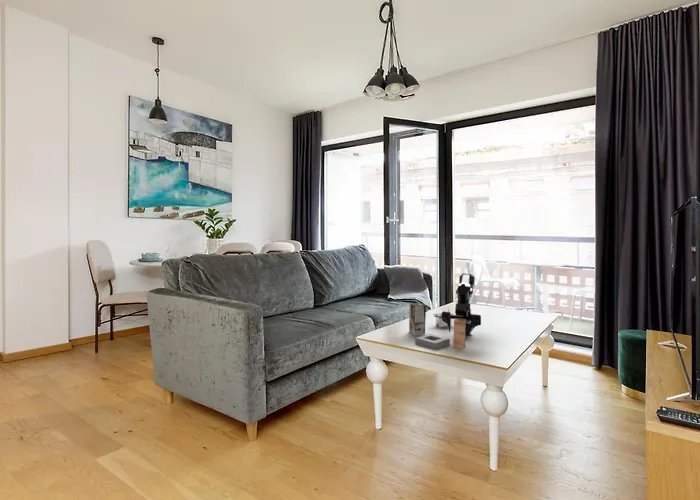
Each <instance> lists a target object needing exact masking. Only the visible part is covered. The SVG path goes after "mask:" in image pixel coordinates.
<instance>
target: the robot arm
mask: <svg viewBox="0 0 700 500" xmlns="http://www.w3.org/2000/svg"><path fill="white" fill-rule="evenodd" d="M475 278H476V277H475V276H473V274H472V273H469V272H462V273H461V275H460V276H459V278H458V285H457V287H456V289H455V294H456V298H457V302H456V303H455V308H454V315H450V313H451V311H449V312H448V311H445V310H444V311H442V312H441V313H442V315H441V316H442V321H443V322H445V323H447V325H448V326H447V327H448V332H449V333H451V331H452V330H451V326H452V320H455V318H459V319H466V332H465V337H468V336H469V337H470V336H473V334H472V332H473V330H474V329H475V328H476V327H479V326H481V325H482V316H481V314H477V313H475V314H474V313H472V309H471V303H470V297H471V296H472V295H473V293H474V290H473V289H474V286H475Z"/></svg>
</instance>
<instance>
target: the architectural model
mask: <svg viewBox="0 0 700 500" xmlns="http://www.w3.org/2000/svg"><path fill="white" fill-rule="evenodd" d="M447 312H450V309H449V308H448V311H447ZM441 315H442V312H441V313H433V317H435V319H436V320H435V326H436V327H439V328H440V327H441V328H442V327H448V325H447V323H445V322H443V321H442V316H441ZM450 315H455V313H451V312H450Z"/></svg>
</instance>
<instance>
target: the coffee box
mask: <svg viewBox="0 0 700 500" xmlns="http://www.w3.org/2000/svg"><path fill="white" fill-rule="evenodd" d="M426 311H427V305H425V304H423V303H421V302H413V303H411V302H410V303H409V314H408V315H409V316H408V317H409V320H408V322H409V323H408V327H409V328H408V332H409V333H410V334H412V336H414V337H420V336H423V335H426V314H427V312H426Z"/></svg>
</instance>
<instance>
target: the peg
mask: <svg viewBox="0 0 700 500" xmlns="http://www.w3.org/2000/svg"><path fill="white" fill-rule="evenodd" d="M465 332H466V319H459V318H455V319H453V336H452V337H453V341H452V343H453V345H452V346H453V348H459V349H465V346H466V336H465Z"/></svg>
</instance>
